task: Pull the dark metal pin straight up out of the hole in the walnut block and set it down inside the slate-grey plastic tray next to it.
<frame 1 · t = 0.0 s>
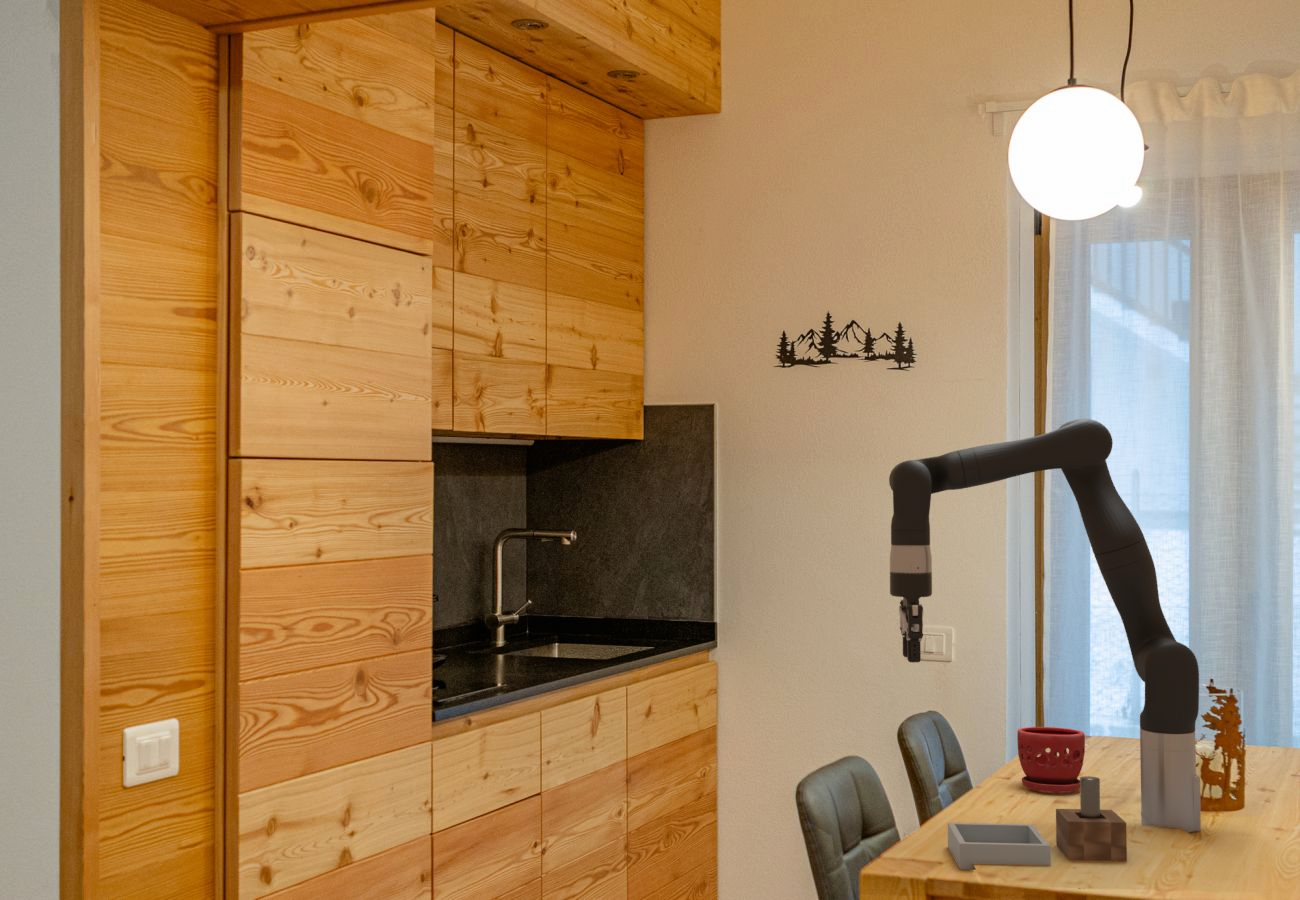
hand: (911, 659, 241), 29 cm above the table, tool pointing down, fingers open, 8 cm apart
plant pot: (1051, 790, 268), on the table
tray: (997, 858, 215), on the table
pin block: (1090, 859, 215), on the table
pin: (1090, 852, 215), point 1 cm above the table, touching pin block
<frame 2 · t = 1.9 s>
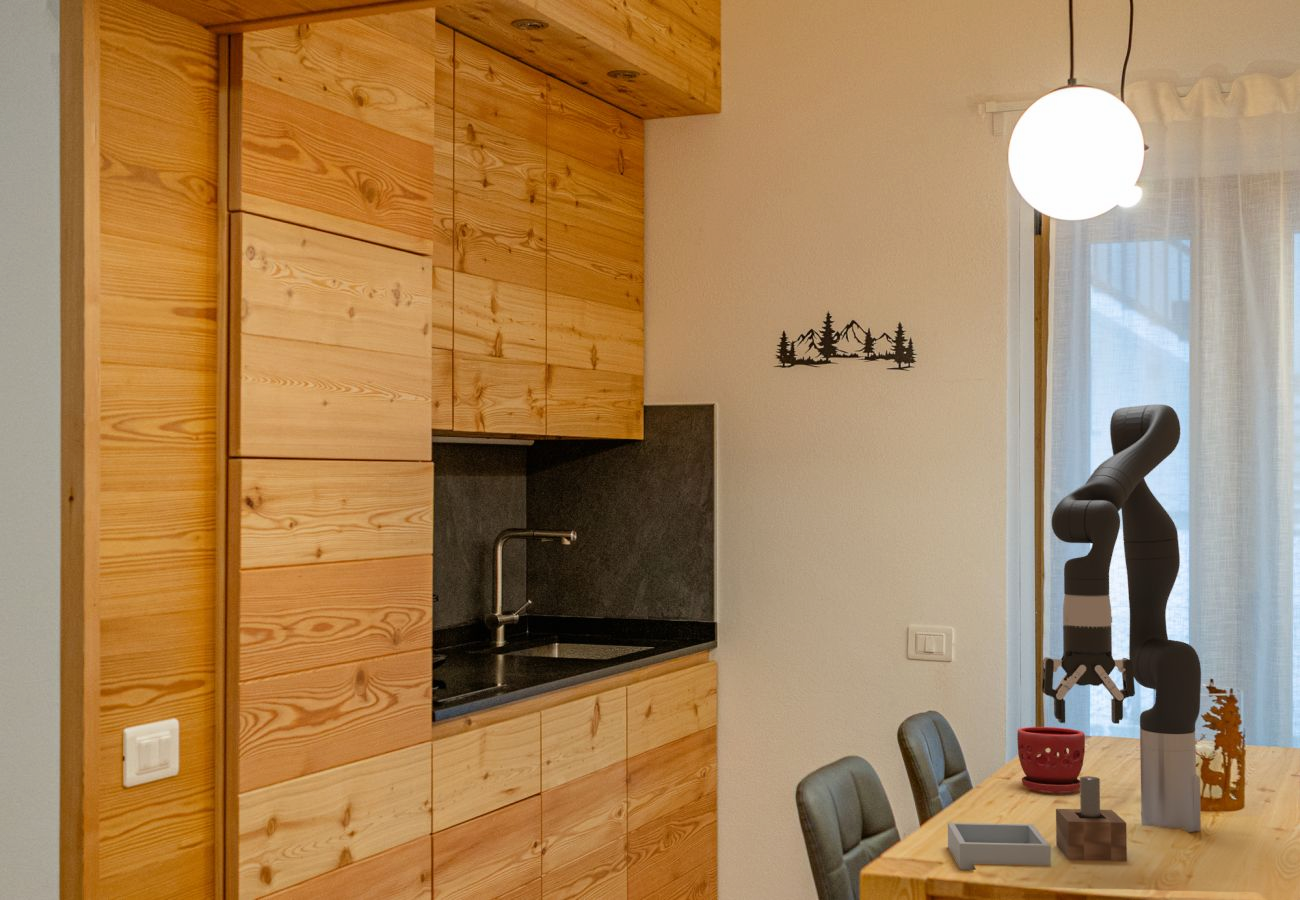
hand: (1088, 722, 216), 22 cm above the table, tool pointing down, fingers open, 8 cm apart
nothing on the table moved.
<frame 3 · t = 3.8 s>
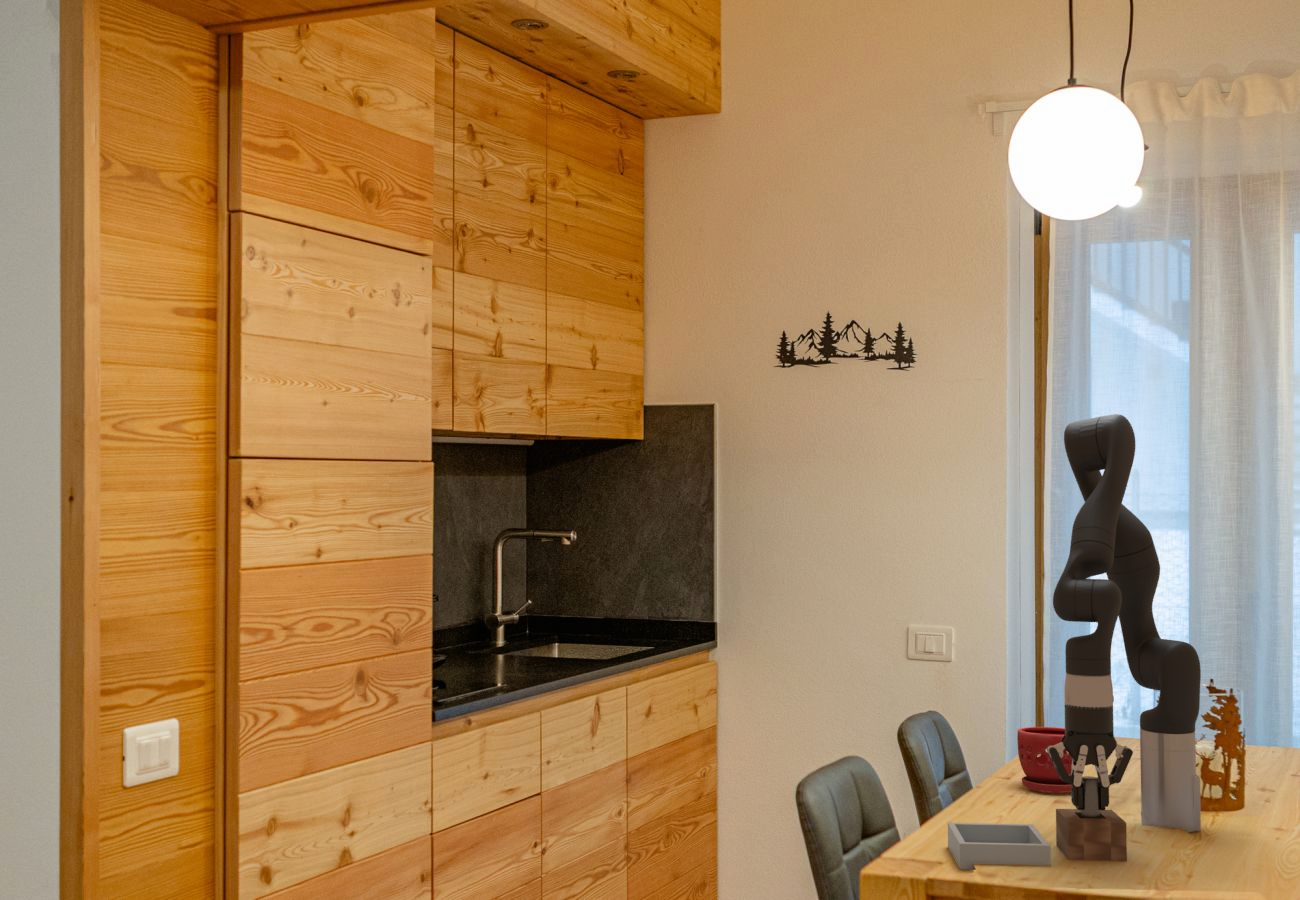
hand: (1090, 808, 215), 8 cm above the table, tool pointing down, fingers closed on pin, 3 cm apart
pin: (1090, 852, 215), point 1 cm above the table, touching gripper, pin block
everything else where it was.
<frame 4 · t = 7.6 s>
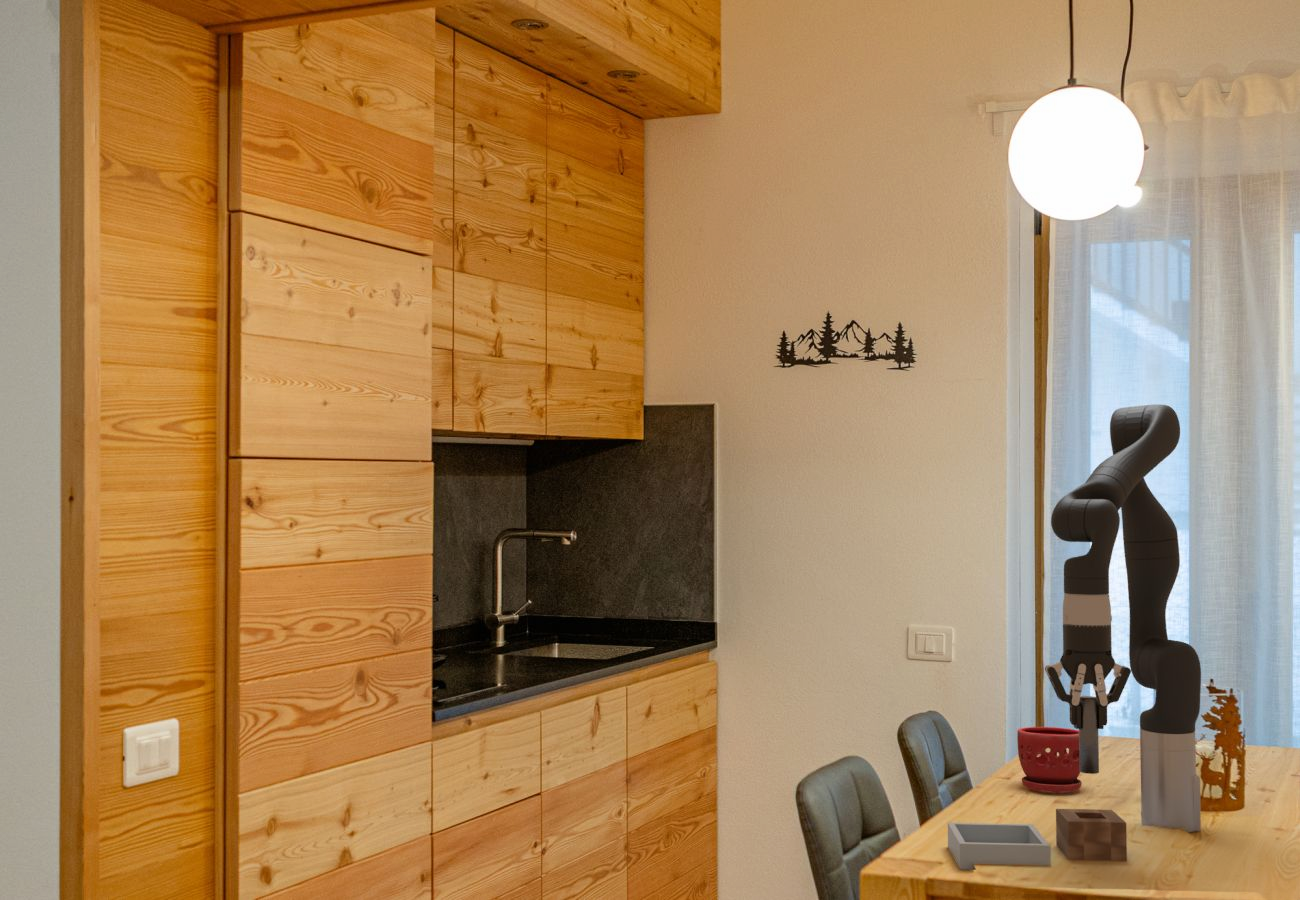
hand: (1088, 727, 216), 21 cm above the table, tool pointing down, fingers closed on pin, 3 cm apart
pin: (1089, 771, 216), point 14 cm above the table, touching gripper
everything else where it was.
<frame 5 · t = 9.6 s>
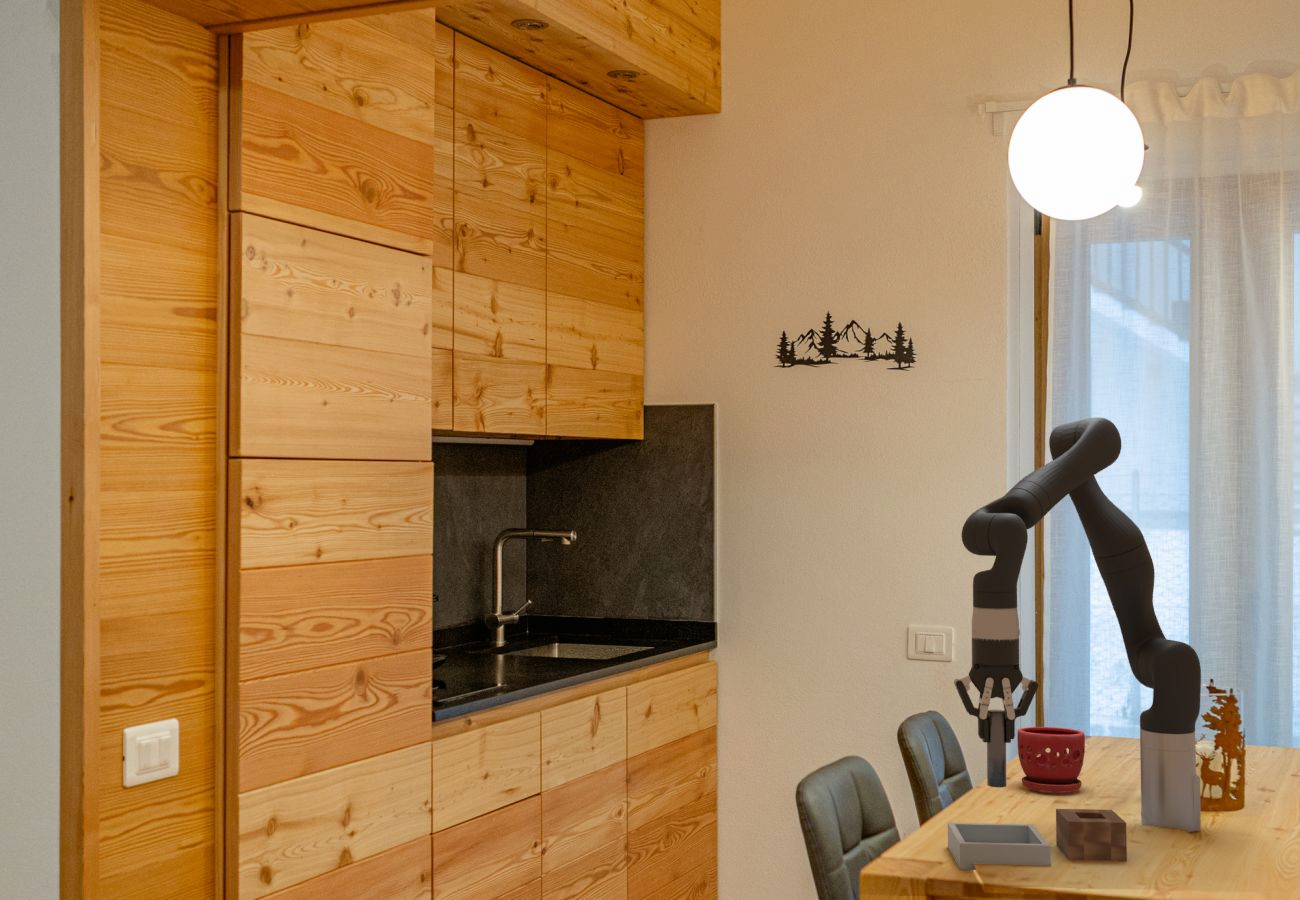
hand: (996, 741, 216), 19 cm above the table, tool pointing down, fingers closed on pin, 3 cm apart
pin: (996, 785, 216), point 12 cm above the table, touching gripper
everything else where it was.
when the fingers open (10 cm above the table, at t = 11.4 s): pin drops 1 cm, resting on tray.
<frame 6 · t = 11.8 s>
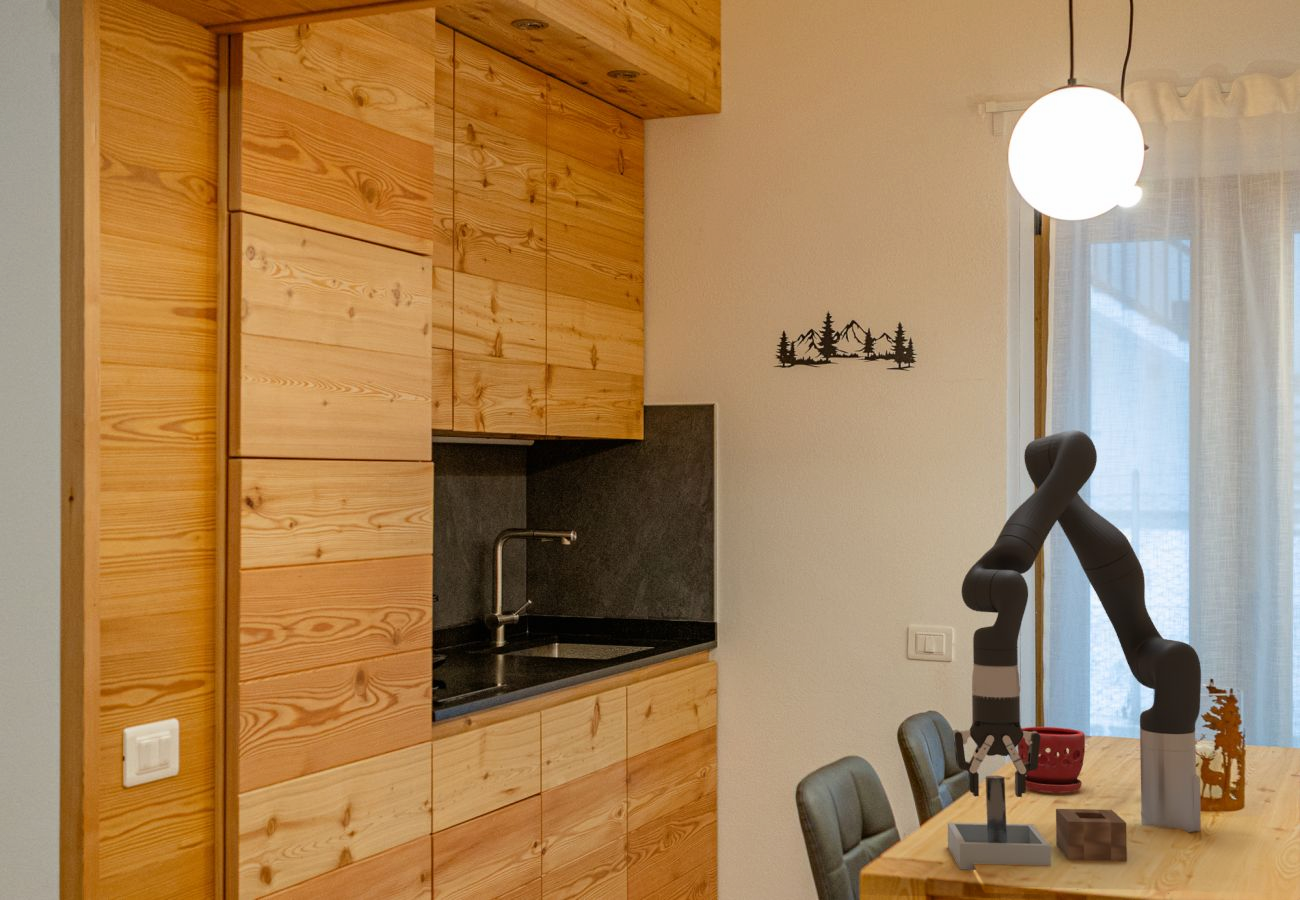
hand: (996, 795, 216), 10 cm above the table, tool pointing down, fingers open, 6 cm apart
pin: (997, 852, 215), point 1 cm above the table, touching tray
everything else where it was.
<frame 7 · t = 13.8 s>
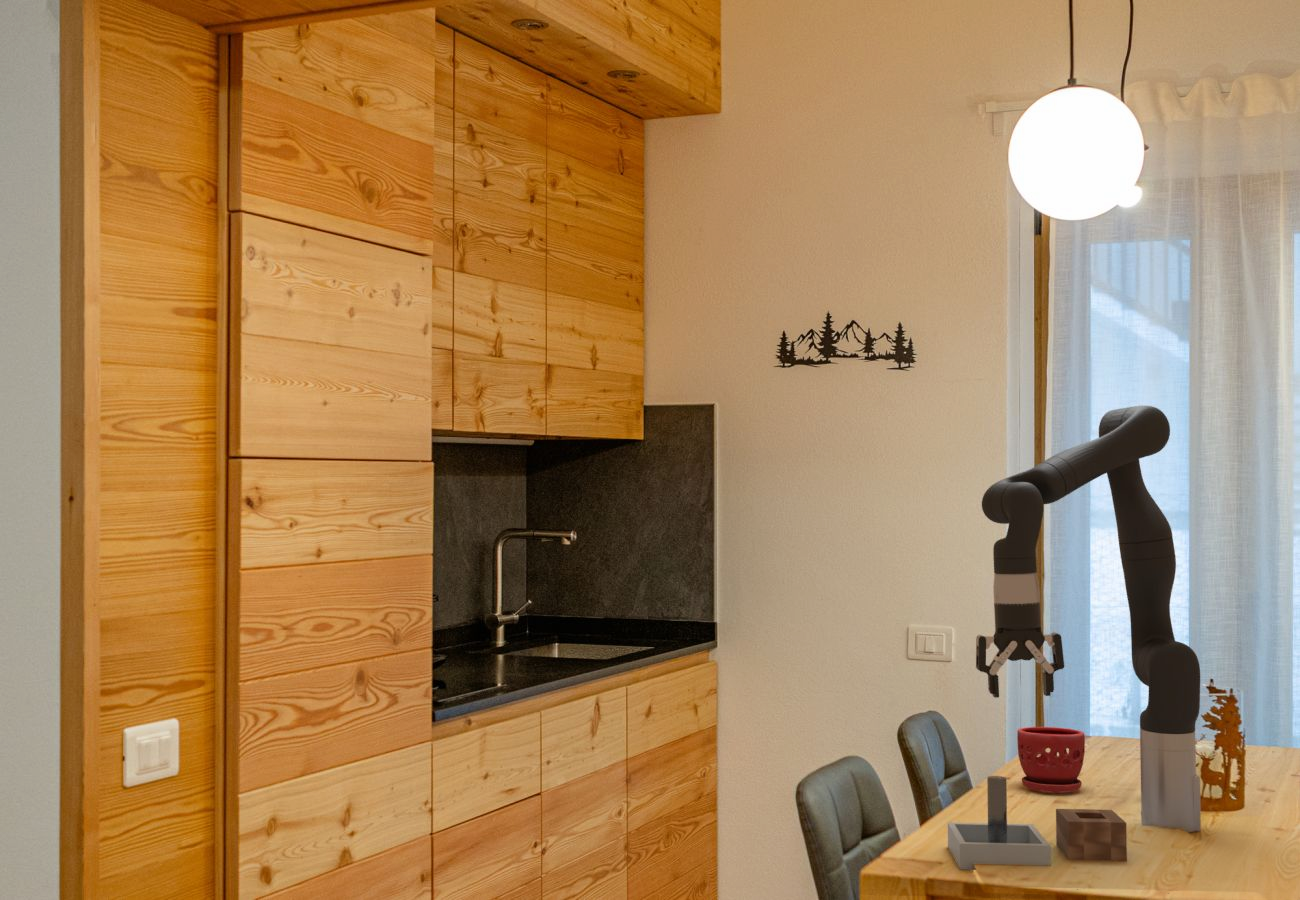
hand: (1021, 696, 224), 25 cm above the table, tool pointing down, fingers open, 8 cm apart
nothing on the table moved.
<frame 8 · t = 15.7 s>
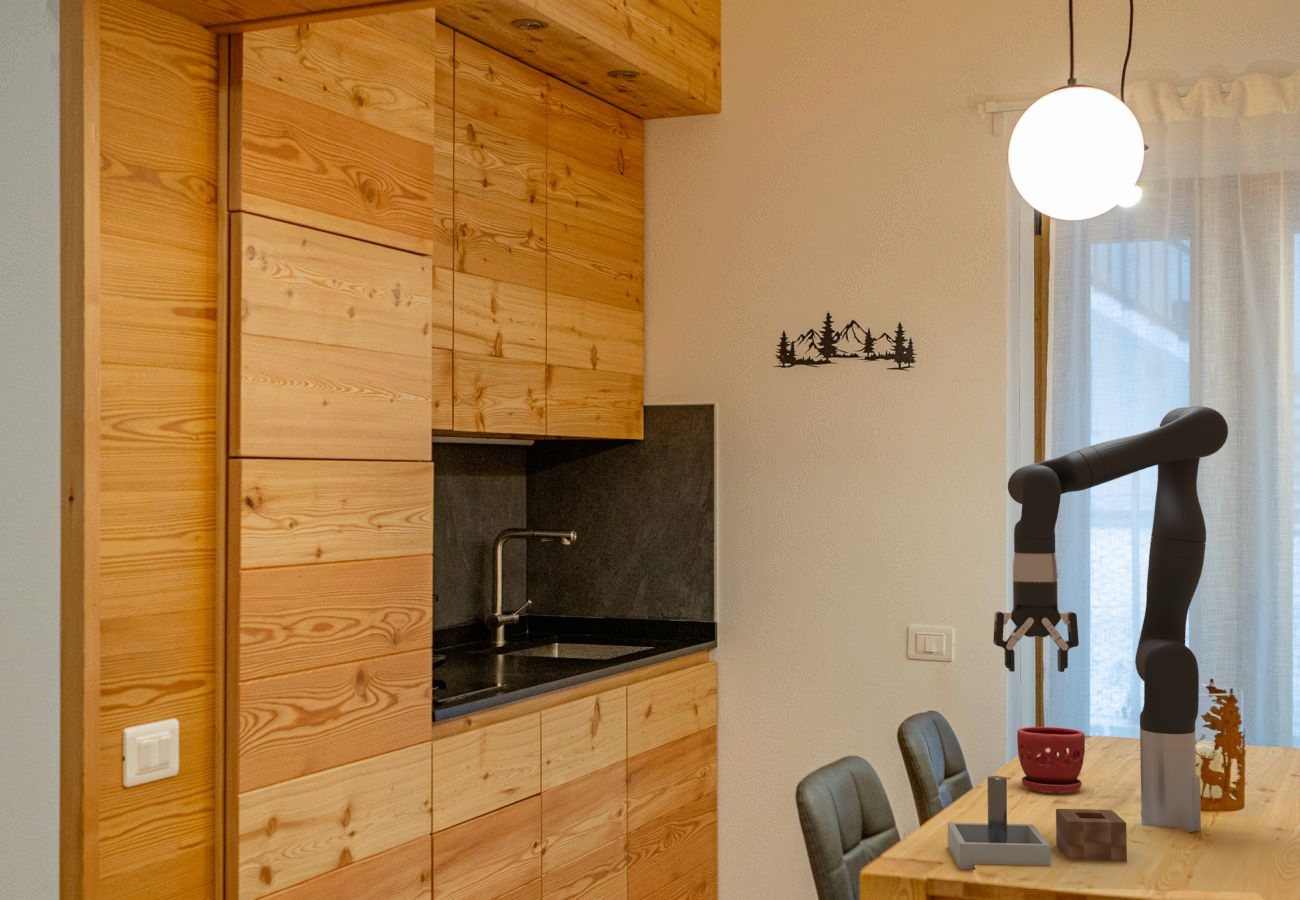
hand: (1036, 671, 234), 28 cm above the table, tool pointing down, fingers open, 8 cm apart
nothing on the table moved.
at the end: pin inside the target area on the tray (0.0 cm from its centre), point 1.0 cm above the tray's base; the gripper is holding nothing; pin moved 15.0 cm from its start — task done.
